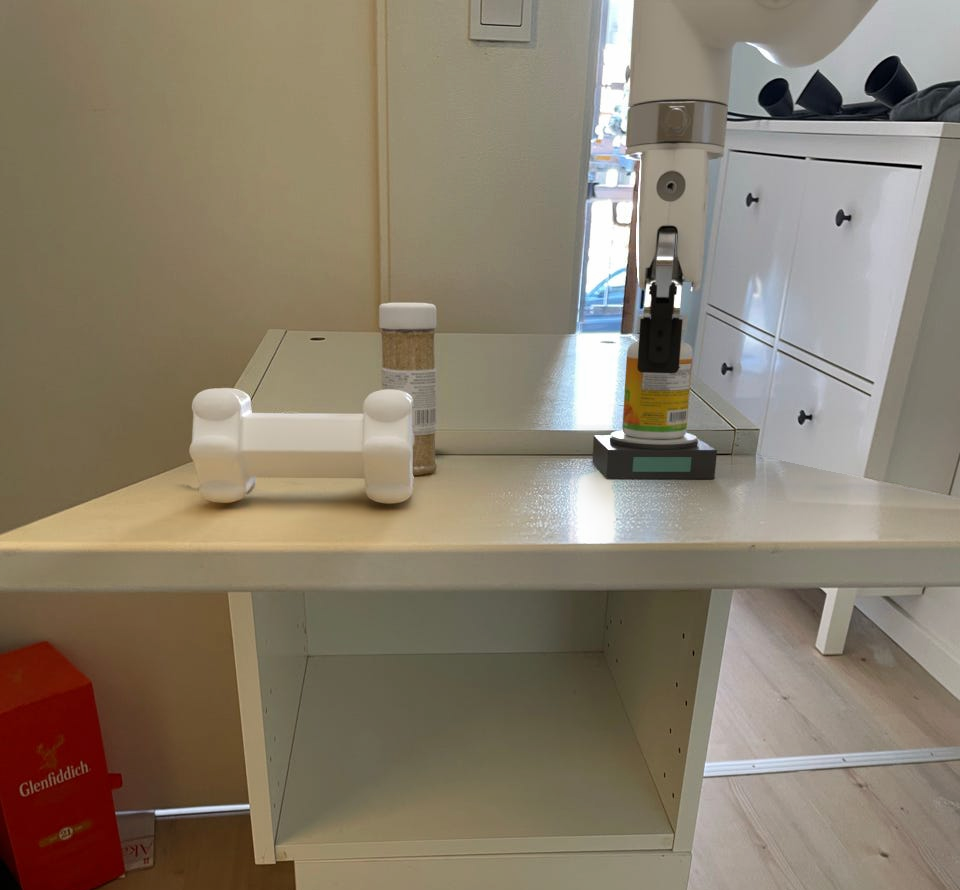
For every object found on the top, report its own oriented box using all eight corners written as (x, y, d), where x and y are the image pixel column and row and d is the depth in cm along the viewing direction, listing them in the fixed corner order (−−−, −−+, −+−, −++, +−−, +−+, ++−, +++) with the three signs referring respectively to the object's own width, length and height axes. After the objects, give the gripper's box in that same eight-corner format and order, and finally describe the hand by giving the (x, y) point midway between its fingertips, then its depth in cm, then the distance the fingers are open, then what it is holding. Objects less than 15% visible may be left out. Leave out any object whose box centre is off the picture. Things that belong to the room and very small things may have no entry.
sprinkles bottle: (420, 465, 85) (419, 302, 80) (446, 473, 81) (446, 303, 77) (373, 469, 83) (369, 302, 78) (398, 478, 79) (395, 303, 75)
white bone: (191, 515, 67) (179, 392, 64) (219, 489, 75) (210, 379, 72) (411, 515, 67) (409, 394, 64) (415, 490, 75) (414, 381, 72)
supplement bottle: (624, 429, 86) (631, 313, 83) (686, 432, 85) (696, 314, 82) (619, 438, 81) (627, 315, 78) (685, 441, 80) (696, 316, 77)
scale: (691, 462, 88) (694, 429, 87) (714, 479, 81) (718, 442, 80) (592, 462, 87) (594, 428, 86) (606, 479, 80) (608, 442, 79)
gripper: (730, 117, 66) (707, 378, 72) (721, 149, 82) (703, 360, 88) (619, 119, 68) (606, 375, 74) (631, 150, 84) (619, 358, 90)
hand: (659, 367), depth 81 cm, fingers open, 9 cm apart
